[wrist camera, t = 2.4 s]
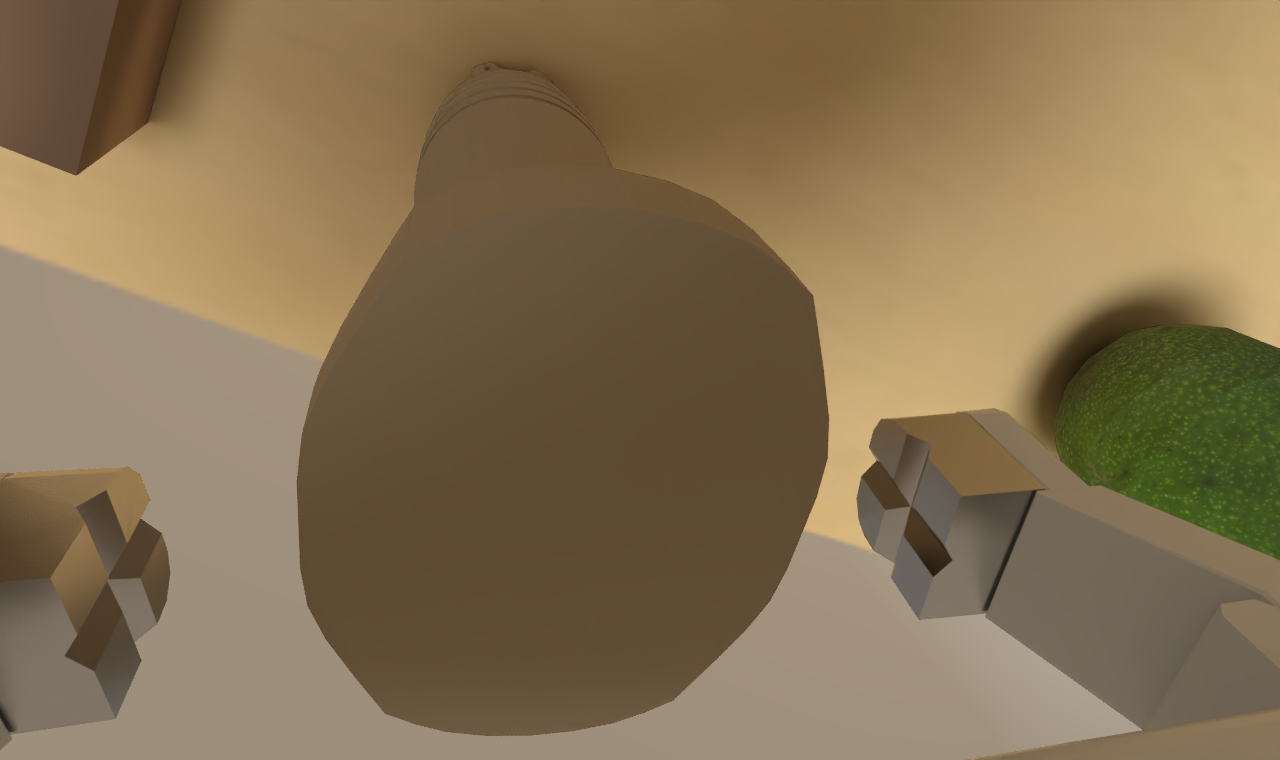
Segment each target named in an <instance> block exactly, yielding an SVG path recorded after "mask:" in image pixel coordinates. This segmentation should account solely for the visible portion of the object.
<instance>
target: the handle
mask: <svg viewBox="0 0 1280 760" xmlns="http://www.w3.org/2000/svg"><path fill="white" fill-rule="evenodd" d="M828 431H829V414H828V405H827V396H826V387H825V378H824V369H823V362H822V355H821V348H820V341H819V334H818V327H817V320H816V313H815V306H814V299H813V295H812V294H811V293H810V291H809V290H808V289H807V288H806V287H805V286H804V284H803V283H802V282H801V281H800V280H799V278H798V277H797V276H796V275H795V274H794V273H793V271H792V270H791V269H790V268H789V267H788V266H787V265H786V264H785V263H784V262H783V260H782V259H781V258H780V257H779V256H778V255H777V254H776V253H775V252H774V251H773V250H772V249H771V248H770V247H769V246H768V245H767V244H766V243H765V242H764V241H763V240H762V239H761V238H760V237H759V236H758V235H757V234H756V233H755V232H754V231H753V230H752V229H751V228H750V227H749V226H747V225H746V224H745V223H743V222H742V221H741V220H739V219H738V218H737V217H735V216H734V215H732V214H731V213H730V212H728V211H727V210H726V209H724V208H723V207H722V206H720V205H719V204H718V203H716V202H715V201H714V200H712V199H709V198H707V197H704V196H702V195H700V194H697V193H695V192H692V191H690V190H688V189H685V188H683V187H680V186H678V185H676V184H673V183H671V182H668V181H665V180H661V179H656V178H652V177H647V176H643V175H639V174H634V173H630V172H626V171H621V170H617V169H613V168H612V165H611V163H610V160H609V157H608V155H607V154H606V151H605V150H604V148H603V146H602V144H601V142H600V140H599V139H598V137H597V135H596V133H595V132H594V130H593V128H592V126H591V125H590V123H589V121H588V120H587V119H586V117H585V116H584V115H583V114H582V112H581V111H580V110H579V109H578V108H577V106H576V105H575V104H574V103H573V102H572V101H571V100H570V98H568V97H567V96H566V95H565V94H564V93H563V92H562V91H561V90H560V89H558V88H557V87H555V84H554V83H553V82H552V81H551V80H550V79H548V78H547V77H546V76H545V75H544V74H542V73H541V72H539V71H537V70H530V71H529V72H523V71H519V70H510V69H502V68H499V67H497V66H496V65H495V64H494V63H491V62H488V63H484V64H481V65H478V66H476V67H474V68H473V70H472V72H471V76H470V78H469V79H468V80H466V81H465V82H463V83H462V84H460V85H459V86H458V87H457V88H455V89H454V90H453V91H452V92H451V93H450V94H449V95H448V97H447V98H446V99H445V101H444V102H443V103H442V105H441V106H440V108H439V109H438V111H437V113H436V115H435V117H434V119H433V121H432V123H431V125H430V128H429V131H428V133H427V135H426V138H425V142H424V145H423V148H422V152H421V156H420V161H419V165H418V170H417V175H416V182H415V190H414V208H413V209H412V211H411V212H410V214H409V215H408V217H407V218H406V220H405V222H404V223H403V225H402V226H401V228H400V229H399V231H398V232H397V234H396V235H395V237H394V238H393V240H392V241H391V243H390V245H389V246H388V248H387V249H386V251H385V253H384V254H383V256H382V258H381V259H380V261H379V262H378V264H377V266H376V267H375V269H374V271H373V272H372V274H371V275H370V277H369V279H368V281H367V282H366V284H365V286H364V288H363V289H362V291H361V293H360V295H359V296H358V298H357V300H356V302H355V303H354V305H353V307H352V309H351V310H350V312H349V314H348V316H347V317H346V319H345V321H344V323H343V324H342V326H341V328H340V330H339V332H338V334H337V336H336V338H335V340H334V342H333V344H332V346H331V348H330V351H329V353H328V355H327V357H326V359H325V361H324V363H323V365H322V367H321V369H320V372H319V375H318V377H317V380H316V383H315V386H314V389H313V392H312V397H311V401H310V405H309V408H308V413H307V416H306V421H305V424H304V428H303V433H302V439H301V448H300V457H299V467H298V476H297V496H298V497H297V498H298V521H299V522H298V523H299V547H300V569H301V574H302V580H303V585H304V590H305V595H306V600H307V605H308V607H309V609H310V611H311V613H312V615H313V617H314V618H315V620H316V622H317V624H318V626H319V627H320V629H321V631H322V633H323V635H324V637H325V639H326V640H327V641H328V643H329V644H330V645H331V647H332V648H333V649H334V650H335V652H336V653H337V654H338V656H339V657H340V658H341V660H342V661H343V662H344V664H345V665H346V666H347V668H348V669H349V670H350V671H351V673H352V674H353V675H354V677H355V678H356V679H357V680H358V681H359V683H360V684H361V685H362V686H363V688H364V689H365V690H366V691H367V692H368V694H369V695H370V696H371V697H372V698H373V700H374V701H375V702H376V703H377V704H378V706H379V707H380V708H381V709H382V711H383V712H384V713H385V714H388V715H390V716H393V717H396V718H399V719H402V720H405V721H407V722H410V723H413V724H416V725H420V726H424V727H428V728H433V729H437V730H441V731H445V732H452V733H464V734H473V735H485V736H509V735H510V736H513V735H514V736H517V735H519V736H523V735H539V734H549V733H559V732H569V731H576V730H581V729H586V728H591V727H596V726H601V725H606V724H611V723H614V722H618V721H621V720H624V719H627V718H630V717H633V716H635V715H638V714H642V713H645V712H647V711H649V710H652V709H654V708H656V707H659V706H661V705H663V704H665V703H668V702H670V701H672V700H674V699H675V698H676V697H677V696H678V695H679V694H680V693H681V692H682V691H683V690H685V688H687V687H688V686H689V685H690V684H691V683H692V682H693V681H694V680H695V679H696V678H697V677H698V676H699V675H700V674H701V673H703V672H704V670H706V669H707V668H708V667H709V666H710V665H711V664H712V663H713V662H714V661H715V660H716V659H717V658H718V657H719V656H720V655H721V654H722V653H723V652H724V651H725V650H726V649H727V648H728V647H729V646H730V645H731V644H732V643H733V642H734V641H735V640H736V639H737V638H738V637H739V636H740V635H741V634H742V633H743V632H744V631H745V630H746V629H747V628H748V627H749V626H750V624H751V623H752V622H753V621H754V620H755V618H756V617H757V616H758V615H759V613H760V612H761V611H762V610H763V609H764V607H765V606H766V605H767V604H768V602H769V601H770V600H771V598H772V596H773V594H774V593H775V591H776V589H777V587H778V585H779V583H780V581H781V580H782V578H783V576H784V574H785V572H786V570H787V568H788V566H789V563H790V561H791V558H792V556H793V554H794V551H795V549H796V546H797V544H798V541H799V539H800V537H801V534H802V532H803V529H804V527H805V524H806V522H807V519H808V517H809V514H810V512H811V510H812V507H813V505H814V502H815V500H816V497H817V494H818V490H819V487H820V483H821V480H822V476H823V473H824V469H825V466H826V462H827V459H828Z"/></svg>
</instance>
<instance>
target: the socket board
mask: <svg viewBox="0 0 1280 760" xmlns="http://www.w3.org/2000/svg"><path fill="white" fill-rule="evenodd" d="M180 3H181V0H0V146H2V147H4V148H7V149H9V150H12V151H14V152H17V153H20V154H22V155H25V156H27V157H30V158H32V159H35V160H37V161H40V162H43V163H45V164H48V165H50V166H53V167H55V168H58V169H61V170H63V171H66V172H68V173H71V174H73V175H78V174H79V173H81V172H82V171H83V170H85V169H86V168H87V167H89V166H90V165H91V164H93V163H94V162H95V161H97V160H98V159H99V158H101V157H102V156H103V155H105V154H106V153H108V152H109V151H110V150H112V149H113V148H114V147H116V146H117V145H118V144H120V143H121V142H122V141H124V140H125V139H126V138H128V137H129V136H131V135H132V134H133V133H135V132H136V131H137V130H139V129H140V128H141V127H143V126H144V125H145V124H147V123H148V119H149V116H150V112H151V109H152V105H153V101H154V98H155V94H156V90H157V87H158V83H159V79H160V76H161V72H162V69H163V65H164V61H165V58H166V54H167V50H168V47H169V43H170V39H171V36H172V32H173V28H174V25H175V21H176V18H177V14H178V10H179V7H180Z"/></svg>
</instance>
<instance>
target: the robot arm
mask: <svg viewBox="0 0 1280 760" xmlns="http://www.w3.org/2000/svg"><path fill="white" fill-rule="evenodd" d="M869 448H870V450H871V452H872V453H873V455H874V457H875V459H876V462H875V463H874V464H873V465H872V466H871V467H870V468H869V469H868V470H867V471H866V472H865V473H864V474H863V475H862V476H861V480H860V485H859V490H858V494H857V507H858V518H859V522H860V525H861V528H862V531H863V533H864V536H865V538H866V539H867V541H868V542H869V544H870V546H871V547H872V549H873V550H874V551H875V552H877V553H878V554H880V555H882V556H883V557H885V558H887V559H889V560H890V561H892V562H894V566H893V570H892V575H891V578H892V580H893V581H894V583H895V584H896V586H897V587H898V589H899V590H900V592H901V593H902V595H903V596H904V598H905V599H906V601H907V602H908V604H909V606H910V607H911V608H912V610H913V612H914V613H915V615H916V616H917V617H918V619H919V620H922V619H932V618H943V617H953V616H963V615H975V614H986V613H987V614H986V616H985V617H986V618H988V619H989V620H990V621H992V622H993V623H994V624H996V625H997V626H999V627H1000V628H1001V629H1003V630H1004V631H1006V632H1007V633H1008V634H1010V635H1011V636H1013V637H1014V638H1015V639H1017V640H1018V641H1020V642H1021V643H1022V644H1024V645H1025V646H1027V647H1028V648H1029V649H1031V650H1032V651H1034V652H1035V653H1036V654H1038V655H1039V656H1040V657H1042V658H1043V659H1045V660H1046V661H1048V662H1049V663H1050V664H1052V665H1053V666H1055V667H1056V668H1058V669H1059V670H1060V671H1061V672H1063V673H1064V674H1066V675H1067V676H1069V677H1070V678H1071V679H1073V680H1074V681H1075V682H1077V683H1078V684H1080V685H1081V686H1082V687H1084V688H1085V689H1087V690H1088V691H1090V692H1091V693H1092V694H1094V695H1095V696H1096V697H1098V698H1099V699H1101V700H1102V701H1103V702H1105V703H1106V704H1108V705H1109V706H1110V707H1112V708H1113V709H1115V710H1116V711H1117V712H1119V713H1120V714H1122V715H1123V716H1124V717H1126V718H1127V719H1129V720H1130V721H1131V722H1133V723H1134V724H1136V725H1137V726H1138V727H1140V728H1141V729H1142V731H1136V732H1130V733H1124V734H1118V735H1112V736H1106V737H1100V738H1093V739H1087V740H1081V741H1075V742H1069V743H1063V744H1057V745H1052V746H1045V747H1039V748H1033V749H1027V750H1021V751H1015V752H1009V753H1004V754H997V755H991V756H985V757H979V758H974V759H967V760H1280V560H1278V559H1276V558H1273V557H1271V556H1268V555H1266V554H1264V553H1261V552H1259V551H1256V550H1254V549H1252V548H1249V547H1247V546H1244V545H1242V544H1240V543H1237V542H1235V541H1232V540H1230V539H1228V538H1225V537H1223V536H1220V535H1218V534H1216V533H1213V532H1211V531H1208V530H1206V529H1204V528H1201V527H1199V526H1196V525H1194V524H1192V523H1189V522H1187V521H1184V520H1182V519H1180V518H1177V517H1175V516H1172V515H1170V514H1168V513H1165V512H1163V511H1160V510H1158V509H1156V508H1153V507H1151V506H1148V505H1146V504H1144V503H1141V502H1139V501H1136V500H1134V499H1132V498H1129V497H1127V496H1125V495H1122V494H1120V493H1117V492H1115V491H1113V490H1110V489H1108V488H1105V487H1103V486H1088V485H1087V484H1086V483H1085V482H1084V481H1082V480H1081V479H1080V478H1079V477H1078V476H1077V475H1076V474H1075V473H1074V472H1072V471H1071V470H1070V469H1069V468H1068V467H1067V466H1066V465H1065V464H1063V463H1062V462H1061V461H1060V460H1059V459H1058V458H1057V457H1056V456H1055V455H1053V454H1052V453H1051V452H1050V451H1049V450H1048V449H1047V448H1046V447H1045V446H1043V445H1042V444H1041V443H1040V442H1039V441H1038V440H1037V439H1036V438H1035V437H1033V436H1032V435H1031V434H1030V433H1029V432H1028V431H1027V430H1026V429H1025V428H1023V427H1022V426H1021V425H1020V424H1019V423H1018V422H1017V421H1016V420H1014V419H1013V418H1012V417H1011V416H1010V415H1009V414H1008V413H1006V412H1003V411H1000V410H998V409H995V408H993V409H983V410H972V411H962V412H957V413H951V414H939V415H926V416H913V417H900V418H887V419H881V420H880V422H879V423H878V424H877V426H876V427H875V429H874V431H873V434H872V438H871V441H870V445H869ZM149 501H150V498H149V495H148V493H147V490H146V488H145V485H144V483H143V480H142V478H141V475H140V474H139V473H137V472H136V471H134V470H132V469H131V468H129V467H121V468H100V469H80V470H79V469H78V470H57V471H35V472H18V473H16V474H14V473H0V750H1V749H2V748H3V747H4V746H5V745H6V744H7V743H9V741H11V739H12V737H11V734H17V733H24V732H31V731H37V730H45V729H51V728H58V727H64V726H71V725H78V724H85V723H92V722H98V721H105V720H112V719H116V717H117V715H118V712H119V710H120V708H121V706H122V703H123V701H124V699H125V697H126V694H127V692H128V690H129V687H130V685H131V683H132V681H133V679H134V676H135V674H136V672H137V670H138V667H139V665H140V663H141V658H140V655H139V653H138V650H137V648H136V645H135V641H137V640H138V639H139V638H140V637H142V636H143V635H144V634H145V633H147V632H148V631H149V630H150V629H152V628H153V627H154V626H156V625H157V623H158V621H159V619H160V616H161V614H162V611H163V609H164V606H165V604H166V601H167V594H168V587H169V579H170V566H169V557H168V551H167V548H166V545H165V541H164V539H163V536H162V533H161V532H159V531H158V530H156V529H155V528H153V527H152V526H150V525H149V524H147V523H146V522H145V521H143V520H142V519H140V518H141V516H142V515H143V513H144V511H145V509H146V507H147V505H148V503H149Z"/></svg>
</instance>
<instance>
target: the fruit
mask: <svg viewBox="0 0 1280 760" xmlns="http://www.w3.org/2000/svg"><path fill="white" fill-rule="evenodd" d="M1054 431H1055V438H1056V446H1057V451H1058V454H1059V457H1060V461H1061V462H1062V463H1063V464H1065V465H1066V466H1067V467H1068V468H1069V469H1070V470H1071V471H1072V472H1074V473H1075V474H1076V475H1077V476H1078V477H1079V478H1080V479H1081V480H1082V481H1084V482H1085V483H1086V484H1087V485H1088V486H1103V487H1105V488H1108V489H1110V490H1113V491H1115V492H1117V493H1120V494H1122V495H1125V496H1127V497H1129V498H1132V499H1134V500H1136V501H1139V502H1141V503H1144V504H1146V505H1148V506H1151V507H1153V508H1156V509H1158V510H1160V511H1163V512H1165V513H1168V514H1170V515H1172V516H1175V517H1177V518H1180V519H1182V520H1184V521H1187V522H1189V523H1192V524H1194V525H1196V526H1199V527H1201V528H1204V529H1206V530H1208V531H1211V532H1213V533H1216V534H1218V535H1220V536H1223V537H1225V538H1228V539H1230V540H1232V541H1235V542H1237V543H1240V544H1242V545H1244V546H1247V547H1249V548H1252V549H1254V550H1256V551H1259V552H1261V553H1264V554H1266V555H1268V556H1271V557H1273V558H1276V559H1278V560H1280V348H1277V347H1274V346H1272V345H1269V344H1267V343H1264V342H1261V341H1259V340H1256V339H1254V338H1251V337H1249V336H1246V335H1243V334H1241V333H1238V332H1236V331H1233V330H1231V329H1228V328H1221V327H1211V326H1200V325H1159V326H1154V327H1149V328H1144V329H1139V330H1135V331H1130V332H1127V333H1126V334H1124V335H1123V336H1121V337H1120V338H1118V339H1117V340H1115V341H1114V342H1112V343H1110V344H1109V345H1107V346H1106V347H1104V348H1103V349H1101V350H1100V351H1098V352H1097V353H1096V354H1094V355H1093V356H1092V357H1090V358H1089V359H1088V360H1086V362H1085V363H1084V364H1083V365H1082V367H1081V368H1080V369H1079V370H1078V372H1077V373H1076V374H1075V375H1074V377H1073V378H1072V379H1071V380H1070V382H1069V383H1068V384H1067V385H1066V388H1065V391H1064V394H1063V397H1062V400H1061V403H1060V406H1059V409H1058V412H1057V416H1056V419H1055V422H1054Z"/></svg>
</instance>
